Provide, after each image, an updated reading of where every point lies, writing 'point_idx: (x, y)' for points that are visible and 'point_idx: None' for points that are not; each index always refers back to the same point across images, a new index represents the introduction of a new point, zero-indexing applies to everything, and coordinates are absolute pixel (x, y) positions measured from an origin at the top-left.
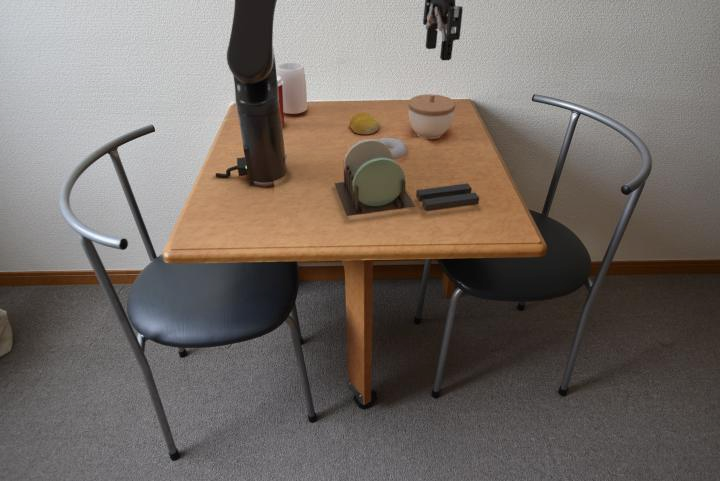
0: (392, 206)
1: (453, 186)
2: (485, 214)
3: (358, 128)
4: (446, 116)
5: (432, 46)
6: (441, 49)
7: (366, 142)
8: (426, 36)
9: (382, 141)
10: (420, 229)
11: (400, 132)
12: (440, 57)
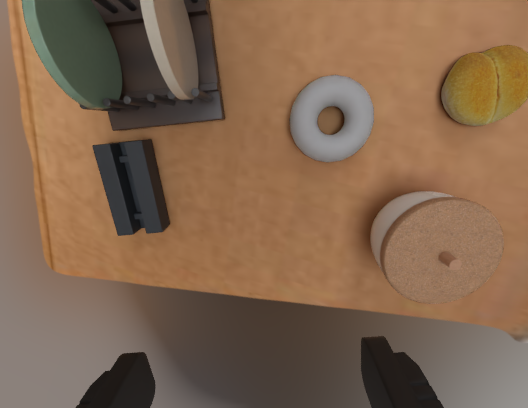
0: None
1: (152, 206)
2: (116, 233)
3: (459, 65)
4: (380, 267)
5: (366, 373)
6: (100, 406)
7: (142, 7)
8: (418, 404)
9: (353, 110)
10: (72, 128)
11: (428, 169)
12: (130, 358)
